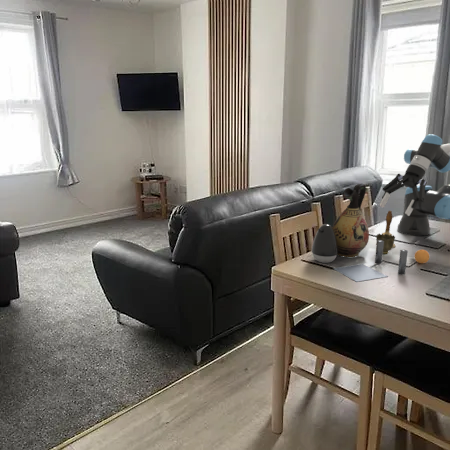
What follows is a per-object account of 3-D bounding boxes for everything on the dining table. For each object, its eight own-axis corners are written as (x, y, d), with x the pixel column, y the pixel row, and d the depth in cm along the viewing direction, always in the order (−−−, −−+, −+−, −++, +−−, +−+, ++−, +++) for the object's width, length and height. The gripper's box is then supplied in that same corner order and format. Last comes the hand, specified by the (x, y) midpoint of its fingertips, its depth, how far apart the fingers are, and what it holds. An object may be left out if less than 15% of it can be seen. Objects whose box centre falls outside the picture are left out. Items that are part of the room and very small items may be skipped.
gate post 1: (378, 261, 179) (380, 239, 177) (383, 263, 177) (385, 241, 175) (373, 262, 179) (375, 240, 176) (377, 264, 176) (380, 242, 174)
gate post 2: (401, 272, 168) (404, 249, 166) (406, 274, 166) (409, 251, 164) (396, 272, 167) (398, 250, 165) (401, 275, 165) (403, 252, 163)
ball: (420, 260, 182) (422, 247, 180) (431, 264, 177) (433, 251, 175) (410, 261, 180) (412, 248, 178) (421, 266, 175) (422, 252, 173)
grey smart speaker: (305, 260, 179) (307, 224, 175) (320, 255, 186) (322, 219, 183) (327, 267, 172) (330, 229, 168) (341, 261, 179) (345, 224, 176)
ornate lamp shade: (376, 249, 194) (378, 232, 192) (394, 252, 190) (396, 234, 188) (372, 254, 188) (374, 236, 185) (391, 257, 184) (393, 239, 182)
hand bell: (392, 243, 204) (396, 209, 200) (397, 248, 196) (401, 213, 192) (374, 242, 205) (377, 208, 200) (378, 248, 197) (381, 212, 192)
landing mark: (362, 264, 176) (362, 263, 176) (387, 276, 163) (387, 276, 163) (333, 268, 171) (333, 268, 171) (356, 282, 158) (356, 281, 158)
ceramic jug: (352, 263, 177) (359, 188, 169) (321, 253, 189) (326, 183, 181) (376, 254, 188) (384, 184, 180) (345, 245, 199) (351, 179, 191)
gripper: (390, 159, 202) (367, 199, 202) (440, 169, 182) (414, 214, 182) (398, 167, 207) (375, 206, 206) (447, 177, 186) (422, 221, 186)
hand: (393, 210), depth 194 cm, fingers open, 13 cm apart
